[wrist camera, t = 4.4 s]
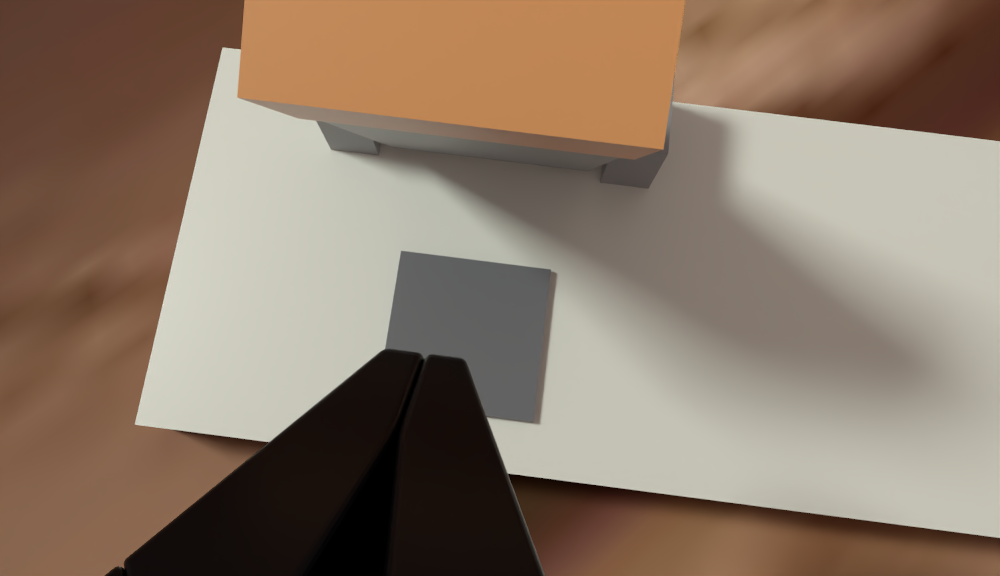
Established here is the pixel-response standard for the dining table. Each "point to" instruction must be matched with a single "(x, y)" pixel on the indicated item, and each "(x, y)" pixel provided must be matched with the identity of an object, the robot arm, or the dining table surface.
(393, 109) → the lever
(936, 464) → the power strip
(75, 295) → the dining table surface
